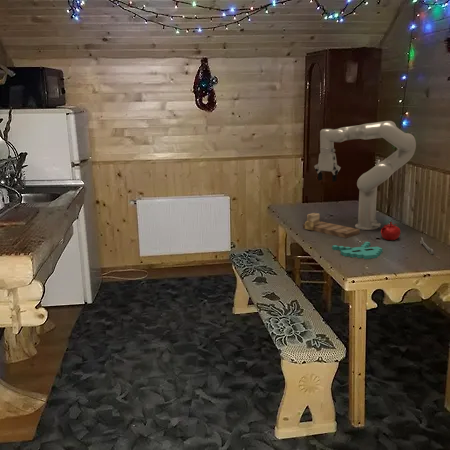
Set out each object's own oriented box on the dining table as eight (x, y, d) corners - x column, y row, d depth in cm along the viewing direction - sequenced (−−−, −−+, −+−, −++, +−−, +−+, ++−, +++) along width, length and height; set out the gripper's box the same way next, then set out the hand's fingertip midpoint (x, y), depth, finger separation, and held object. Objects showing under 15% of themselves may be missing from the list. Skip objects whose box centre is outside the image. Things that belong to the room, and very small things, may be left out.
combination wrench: (433, 248, 246) (422, 236, 266) (430, 248, 247) (420, 236, 266) (433, 256, 248) (422, 243, 267) (430, 256, 248) (419, 243, 267)
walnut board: (359, 233, 286) (359, 229, 286) (346, 238, 279) (346, 233, 278) (316, 224, 308) (316, 220, 308) (302, 228, 301) (302, 224, 300)
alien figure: (332, 249, 261) (351, 261, 242) (332, 245, 260) (352, 257, 242) (368, 245, 266) (390, 257, 247) (368, 241, 265) (390, 252, 247)
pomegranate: (402, 238, 277) (403, 221, 275) (396, 242, 269) (398, 224, 267) (383, 235, 282) (385, 218, 280) (377, 239, 274) (378, 222, 272)
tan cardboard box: (320, 228, 298) (320, 214, 296) (312, 230, 294) (312, 216, 292) (313, 226, 302) (313, 212, 300) (305, 228, 297) (305, 214, 295)
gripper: (343, 150, 294) (343, 181, 298) (318, 149, 306) (318, 178, 310) (336, 152, 289) (336, 182, 293) (310, 151, 301) (311, 180, 305)
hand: (327, 180), depth 301 cm, fingers open, 9 cm apart
